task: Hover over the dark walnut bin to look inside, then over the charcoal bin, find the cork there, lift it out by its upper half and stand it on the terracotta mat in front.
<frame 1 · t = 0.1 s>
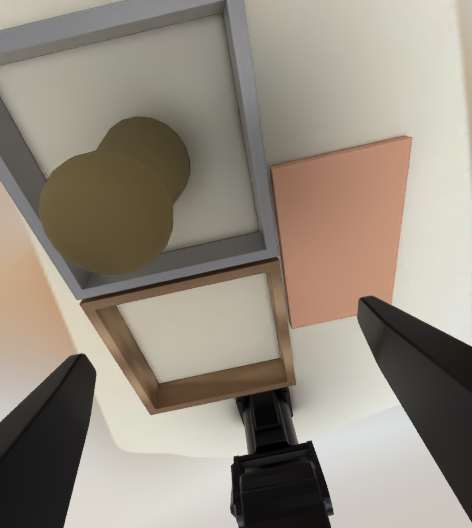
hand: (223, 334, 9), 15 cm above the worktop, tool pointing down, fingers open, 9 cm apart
charcoal bin: (146, 164, 20), on the worktop
cork: (147, 164, 20), resting in charcoal bin
walnut bin: (204, 327, 29), on the worktop
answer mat: (337, 245, 25), on the worktop
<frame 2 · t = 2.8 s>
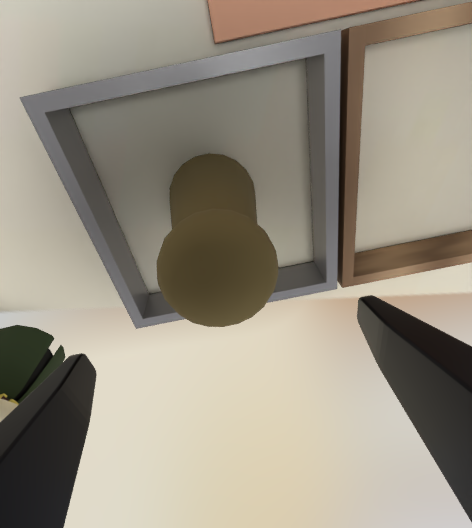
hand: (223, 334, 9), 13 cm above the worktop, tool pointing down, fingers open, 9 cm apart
charcoal bin: (212, 198, 20), on the worktop
cork: (212, 197, 21), resting in charcoal bin
walnut bin: (437, 152, 20), on the worktop
character mug: (31, 344, 26), on the worktop
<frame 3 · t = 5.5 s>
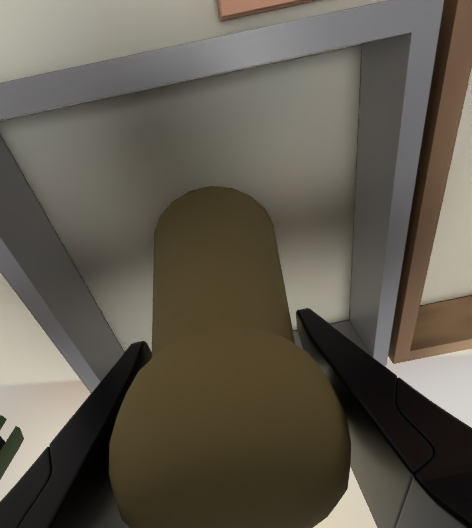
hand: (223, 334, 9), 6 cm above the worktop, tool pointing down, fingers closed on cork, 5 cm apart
charcoal bin: (216, 246, 15), on the worktop
cork: (215, 244, 15), resting in charcoal bin, touching gripper
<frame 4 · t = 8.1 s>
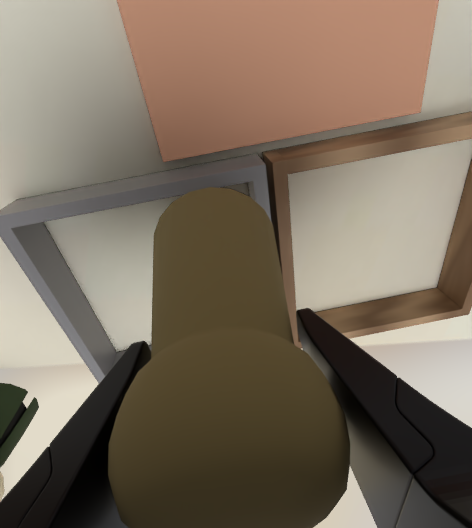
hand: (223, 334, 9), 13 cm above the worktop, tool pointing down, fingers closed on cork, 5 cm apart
charcoal bin: (170, 275, 23), on the worktop
cork: (215, 244, 15), point 6 cm above the worktop, touching gripper
walnut bin: (369, 235, 23), on the worktop
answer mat: (283, 36, 16), on the worktop
character mug: (6, 395, 28), on the worktop
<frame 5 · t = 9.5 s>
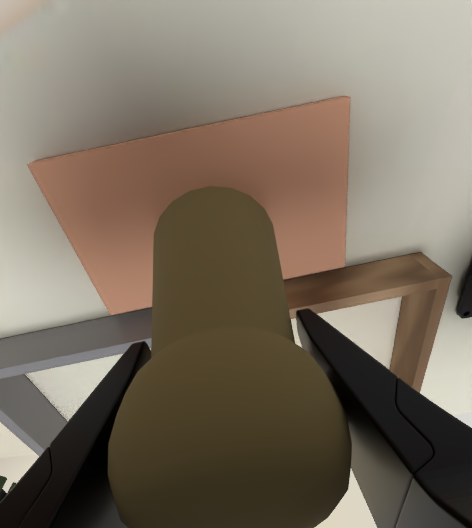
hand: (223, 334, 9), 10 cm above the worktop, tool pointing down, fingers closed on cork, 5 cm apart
charcoal bin: (130, 386, 25), on the worktop
cork: (215, 244, 15), point 3 cm above the worktop, touching gripper
walnut bin: (315, 348, 25), on the worktop
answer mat: (210, 218, 17), on the worktop
when the fingers open (8 cm above the worktop, at t = 10.8 s): cork stays where it is, resting on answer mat.
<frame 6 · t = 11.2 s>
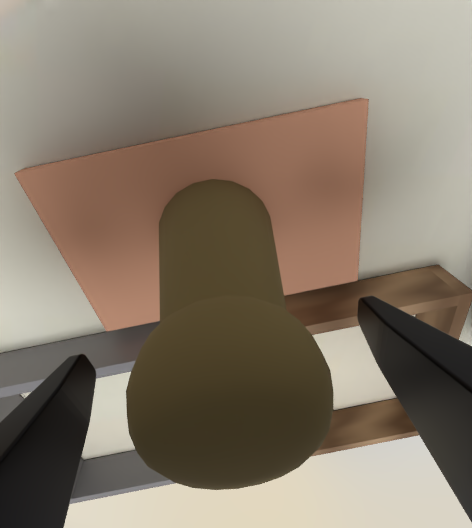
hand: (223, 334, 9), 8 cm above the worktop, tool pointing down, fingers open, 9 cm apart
charcoal bin: (128, 403, 23), on the worktop
cork: (216, 234, 16), point 1 cm above the worktop, touching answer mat
walnut bin: (323, 364, 23), on the worktop
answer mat: (213, 229, 16), on the worktop
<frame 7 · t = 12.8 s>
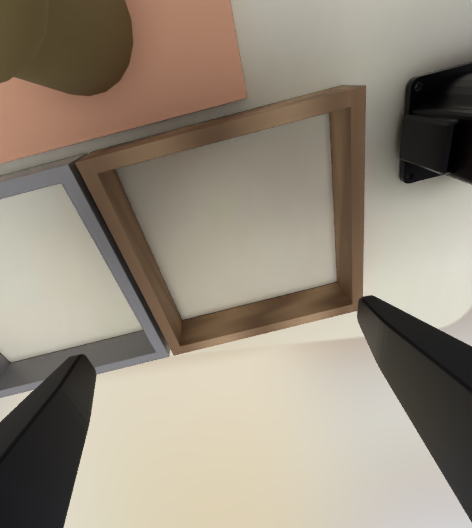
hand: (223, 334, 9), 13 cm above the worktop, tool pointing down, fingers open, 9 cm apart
charcoal bin: (39, 283, 22), on the worktop
cork: (69, 25, 14), point 1 cm above the worktop, touching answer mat
walnut bin: (242, 231, 22), on the worktop
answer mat: (72, 27, 15), on the worktop
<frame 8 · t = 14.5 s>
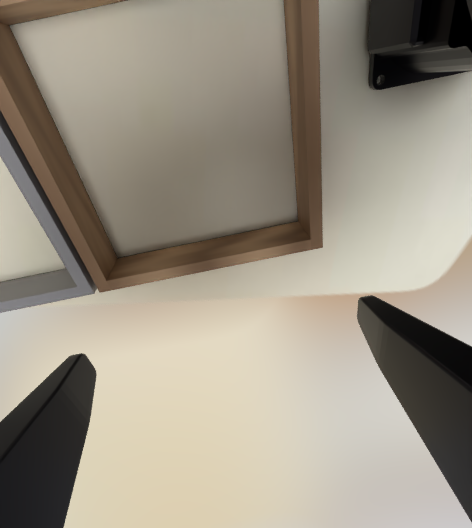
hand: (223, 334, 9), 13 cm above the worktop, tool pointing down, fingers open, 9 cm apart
walnut bin: (182, 143, 18), on the worktop
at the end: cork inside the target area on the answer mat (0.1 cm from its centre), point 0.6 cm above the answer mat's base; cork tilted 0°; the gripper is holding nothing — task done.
